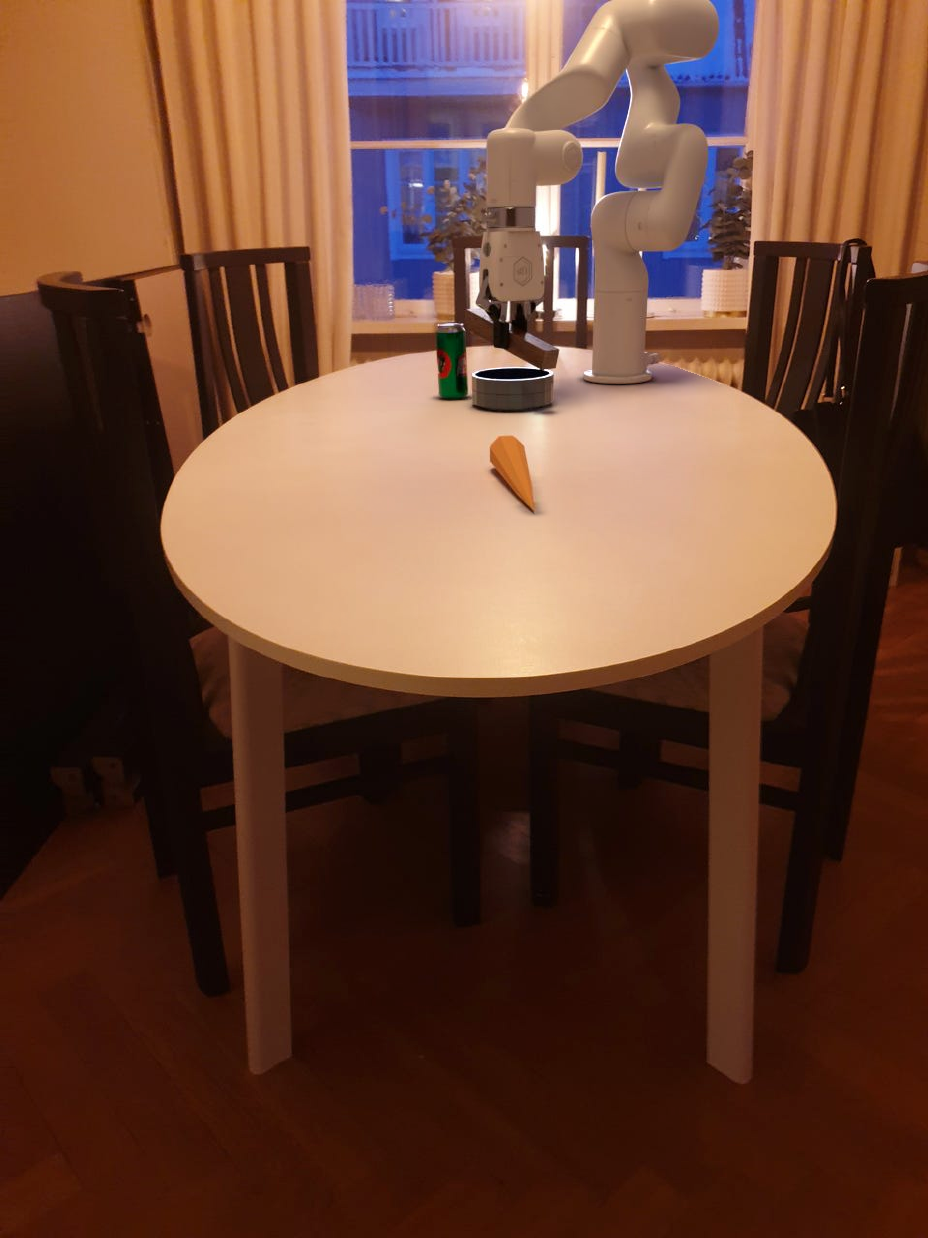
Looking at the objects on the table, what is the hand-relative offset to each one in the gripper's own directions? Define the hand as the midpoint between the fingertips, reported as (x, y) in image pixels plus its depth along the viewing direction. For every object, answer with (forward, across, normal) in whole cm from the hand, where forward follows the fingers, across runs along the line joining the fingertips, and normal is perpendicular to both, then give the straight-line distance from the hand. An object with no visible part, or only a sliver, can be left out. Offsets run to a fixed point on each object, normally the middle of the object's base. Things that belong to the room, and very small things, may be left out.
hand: (510, 345), depth 144 cm
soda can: (+10, -2, +12) cm, 16 cm away
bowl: (+9, +1, 0) cm, 9 cm away
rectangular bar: (0, 0, +1) cm, 1 cm away
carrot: (+10, -31, -38) cm, 50 cm away
